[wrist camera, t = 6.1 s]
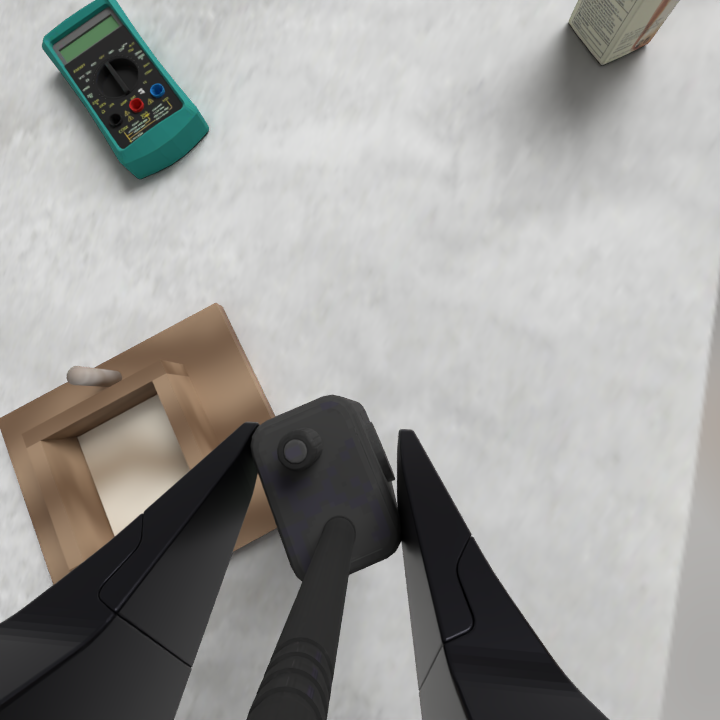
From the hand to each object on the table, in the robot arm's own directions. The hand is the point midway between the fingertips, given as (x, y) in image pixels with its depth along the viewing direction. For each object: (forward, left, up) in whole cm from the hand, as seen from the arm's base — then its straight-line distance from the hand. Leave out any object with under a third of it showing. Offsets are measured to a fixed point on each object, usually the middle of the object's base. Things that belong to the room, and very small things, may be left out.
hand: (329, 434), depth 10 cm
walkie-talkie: (-1, 0, -8) cm, 8 cm away
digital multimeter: (+22, +25, -14) cm, 36 cm away
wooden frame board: (-6, +14, -13) cm, 20 cm away
